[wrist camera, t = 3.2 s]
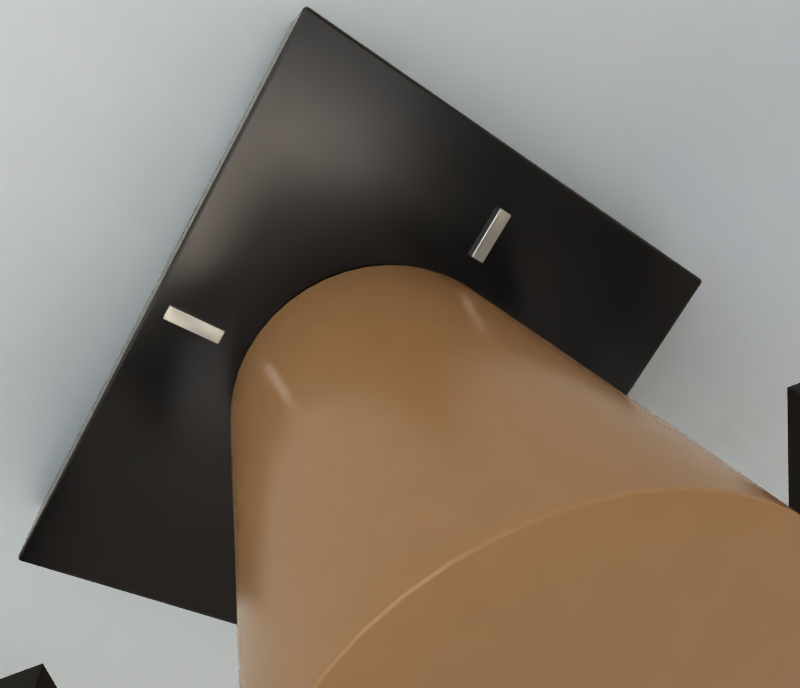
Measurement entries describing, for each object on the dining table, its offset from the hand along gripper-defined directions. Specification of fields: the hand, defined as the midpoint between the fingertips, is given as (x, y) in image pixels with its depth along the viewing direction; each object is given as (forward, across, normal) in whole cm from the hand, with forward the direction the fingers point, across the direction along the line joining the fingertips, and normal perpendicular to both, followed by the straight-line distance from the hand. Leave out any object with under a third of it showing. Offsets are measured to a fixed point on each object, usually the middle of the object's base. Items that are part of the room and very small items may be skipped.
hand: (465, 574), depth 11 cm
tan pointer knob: (+7, 0, 0) cm, 7 cm away
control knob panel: (+10, 0, 0) cm, 10 cm away
